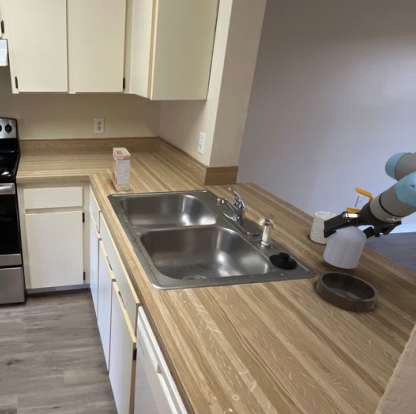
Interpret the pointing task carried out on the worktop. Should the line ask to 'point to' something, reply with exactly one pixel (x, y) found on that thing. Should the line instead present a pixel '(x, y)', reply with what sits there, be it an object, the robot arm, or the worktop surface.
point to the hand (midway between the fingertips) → (342, 235)
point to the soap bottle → (346, 243)
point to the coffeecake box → (121, 169)
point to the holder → (347, 291)
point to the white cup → (320, 226)
